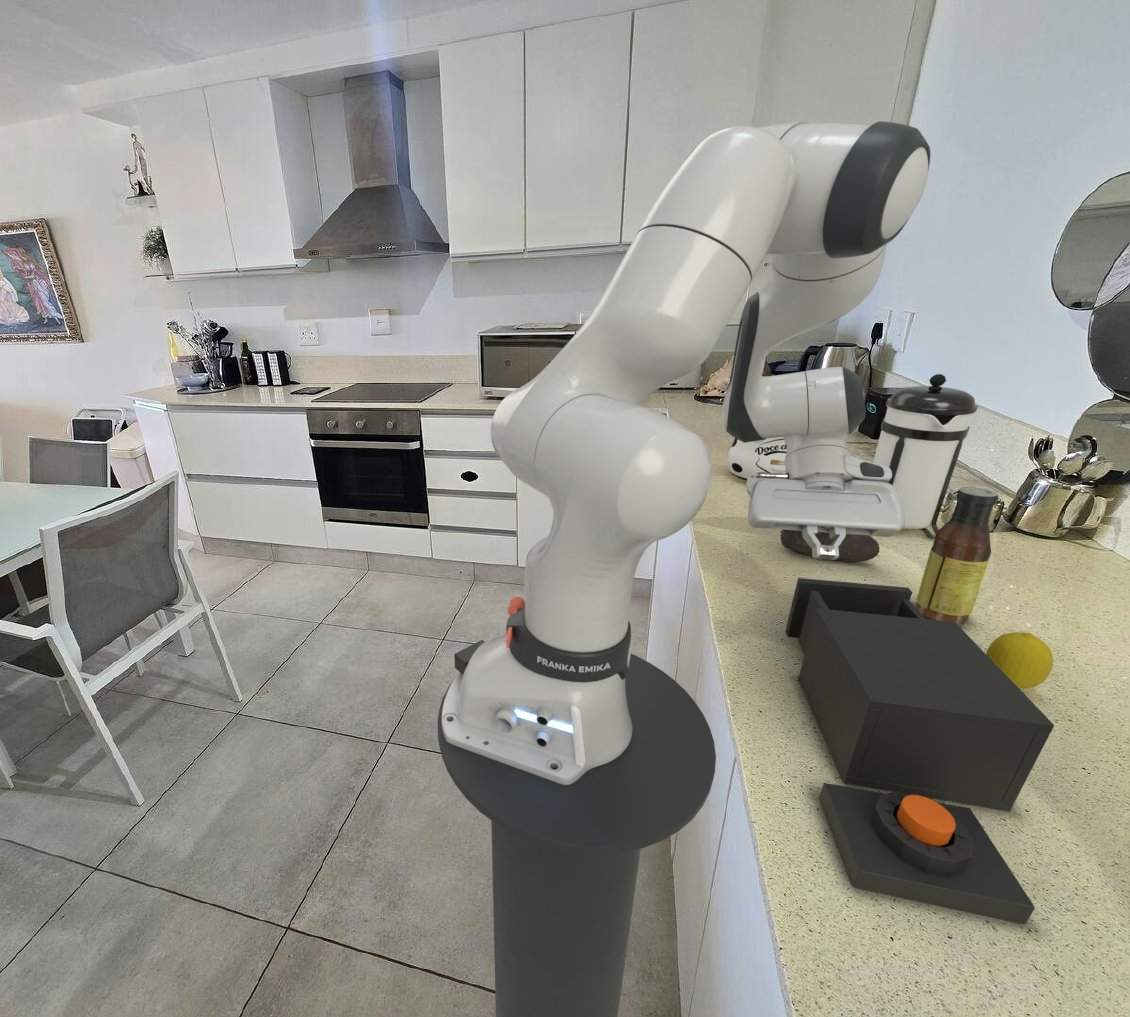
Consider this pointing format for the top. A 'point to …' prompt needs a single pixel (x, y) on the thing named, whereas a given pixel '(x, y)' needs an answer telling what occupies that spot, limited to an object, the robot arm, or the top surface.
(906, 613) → the fryer drawer
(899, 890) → the control block
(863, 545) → the perforated stone tool
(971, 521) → the sauce bottle
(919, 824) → the button
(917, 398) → the coffee press
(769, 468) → the doce de leite jar
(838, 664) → the charcoal drawer unit
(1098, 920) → the top surface
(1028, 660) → the lemon
